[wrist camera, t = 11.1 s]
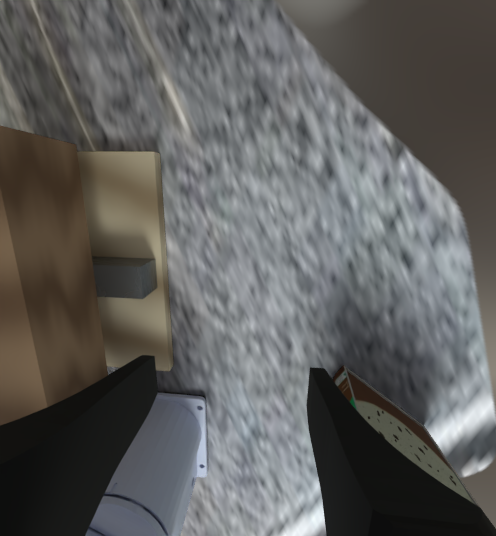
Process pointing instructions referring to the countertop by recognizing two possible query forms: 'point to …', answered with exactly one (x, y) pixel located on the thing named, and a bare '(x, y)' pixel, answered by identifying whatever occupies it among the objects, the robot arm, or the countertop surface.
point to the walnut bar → (44, 277)
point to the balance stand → (128, 253)
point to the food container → (399, 430)
